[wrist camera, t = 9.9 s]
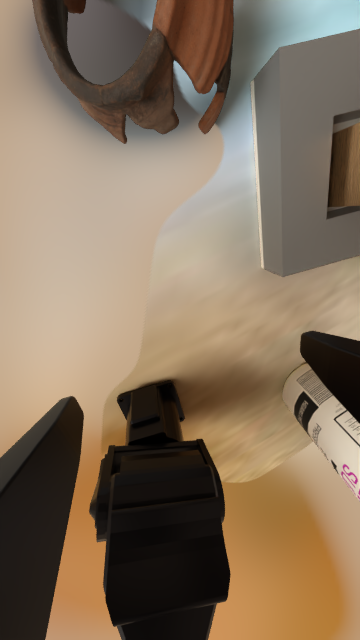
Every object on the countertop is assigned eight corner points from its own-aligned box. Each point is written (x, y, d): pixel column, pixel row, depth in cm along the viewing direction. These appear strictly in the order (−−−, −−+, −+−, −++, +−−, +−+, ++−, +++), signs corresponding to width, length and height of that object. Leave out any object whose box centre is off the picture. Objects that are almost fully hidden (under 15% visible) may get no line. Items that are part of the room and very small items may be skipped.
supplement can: (349, 367, 29) (531, 499, 15) (308, 411, 31) (434, 557, 18) (307, 347, 26) (483, 486, 13) (266, 397, 29) (377, 556, 15)
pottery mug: (198, 184, 18) (148, 165, 11) (105, 124, 18) (1, 69, 11) (317, -65, 11) (388, -537, 4) (165, -143, 12) (7, -658, 5)
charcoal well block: (387, 232, 21) (429, 235, 18) (261, 267, 21) (282, 277, 18) (423, 41, 15) (495, -3, 12) (250, 82, 15) (279, 47, 12)
